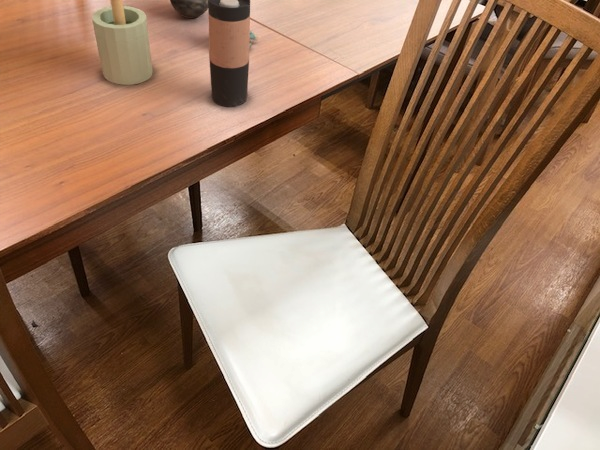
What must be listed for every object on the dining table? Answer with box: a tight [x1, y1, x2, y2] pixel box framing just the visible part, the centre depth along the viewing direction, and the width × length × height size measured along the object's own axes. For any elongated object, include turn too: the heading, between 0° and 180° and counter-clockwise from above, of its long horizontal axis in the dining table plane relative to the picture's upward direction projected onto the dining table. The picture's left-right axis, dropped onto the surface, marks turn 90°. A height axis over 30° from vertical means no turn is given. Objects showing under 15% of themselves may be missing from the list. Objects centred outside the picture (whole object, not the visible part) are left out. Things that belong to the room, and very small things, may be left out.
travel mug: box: [207, 0, 251, 108], centre depth 97 cm, size 8×8×20 cm
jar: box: [91, 5, 154, 86], centre depth 103 cm, size 10×10×12 cm
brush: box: [109, 0, 126, 25], centre depth 99 cm, size 4×4×20 cm
